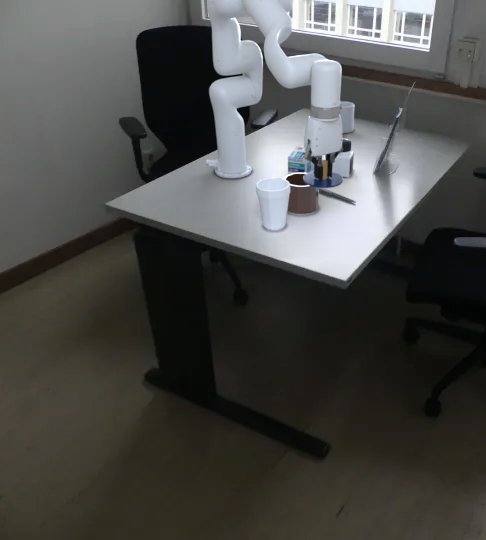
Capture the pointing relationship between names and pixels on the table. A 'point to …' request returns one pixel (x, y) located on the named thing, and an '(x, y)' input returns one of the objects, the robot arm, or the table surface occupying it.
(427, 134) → the table surface
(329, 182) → the lid
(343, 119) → the mug
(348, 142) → the medicine bottle
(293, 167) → the light bulb box
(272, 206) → the foam cup
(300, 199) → the brown cup
